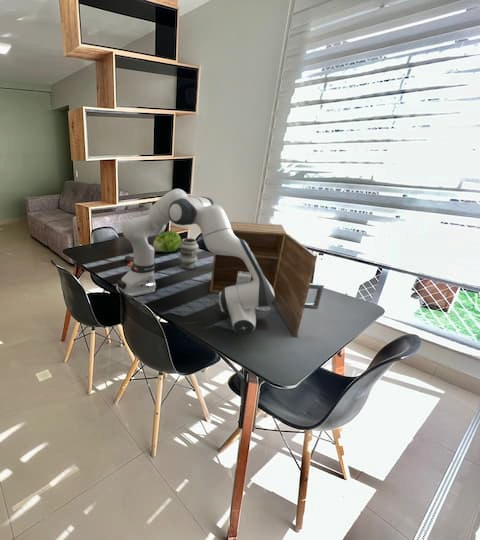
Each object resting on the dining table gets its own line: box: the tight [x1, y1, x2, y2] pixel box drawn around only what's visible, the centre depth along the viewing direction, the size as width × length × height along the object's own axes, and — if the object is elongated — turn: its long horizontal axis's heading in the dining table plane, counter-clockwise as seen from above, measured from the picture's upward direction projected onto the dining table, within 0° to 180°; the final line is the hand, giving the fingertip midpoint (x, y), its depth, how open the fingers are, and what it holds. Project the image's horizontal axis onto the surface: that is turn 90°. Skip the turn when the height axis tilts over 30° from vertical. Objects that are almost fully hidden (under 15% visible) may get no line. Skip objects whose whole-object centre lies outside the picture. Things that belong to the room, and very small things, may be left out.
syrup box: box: [236, 271, 251, 285], centre depth 140 cm, size 6×6×14 cm
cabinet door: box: [272, 233, 325, 337], centre depth 121 cm, size 7×30×34 cm, turn 169°
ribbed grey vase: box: [177, 237, 199, 271], centre depth 182 cm, size 12×12×18 cm
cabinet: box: [209, 221, 288, 294], centre depth 148 cm, size 18×30×34 cm, turn 69°
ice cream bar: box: [124, 255, 134, 265], centre depth 194 cm, size 3×5×15 cm
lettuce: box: [152, 230, 182, 253], centre depth 213 cm, size 16×21×15 cm
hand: (242, 293), depth 130 cm, fingers open, 8 cm apart
